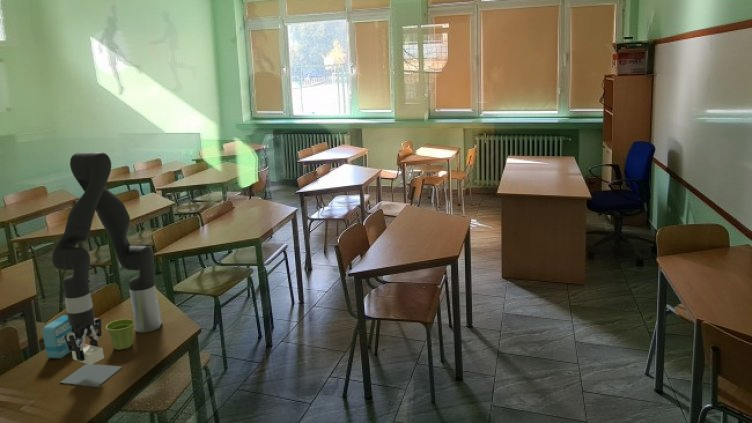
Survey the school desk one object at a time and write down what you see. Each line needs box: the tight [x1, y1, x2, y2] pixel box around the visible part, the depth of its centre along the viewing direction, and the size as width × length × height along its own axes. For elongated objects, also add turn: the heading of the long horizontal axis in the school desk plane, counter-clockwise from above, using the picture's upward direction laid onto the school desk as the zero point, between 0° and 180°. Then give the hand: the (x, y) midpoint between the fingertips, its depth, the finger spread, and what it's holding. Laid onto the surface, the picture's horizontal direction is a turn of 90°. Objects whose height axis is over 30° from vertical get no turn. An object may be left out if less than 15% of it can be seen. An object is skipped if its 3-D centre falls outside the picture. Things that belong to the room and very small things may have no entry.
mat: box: [59, 363, 123, 388], centre depth 183 cm, size 12×14×1 cm
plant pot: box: [105, 318, 135, 350], centre depth 201 cm, size 9×9×9 cm
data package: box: [41, 314, 81, 359], centre depth 199 cm, size 12×4×12 cm, turn 170°
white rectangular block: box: [71, 342, 105, 365], centre depth 181 cm, size 9×5×4 cm, turn 62°
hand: (88, 355), depth 181 cm, fingers closed on white rectangular block, 5 cm apart
